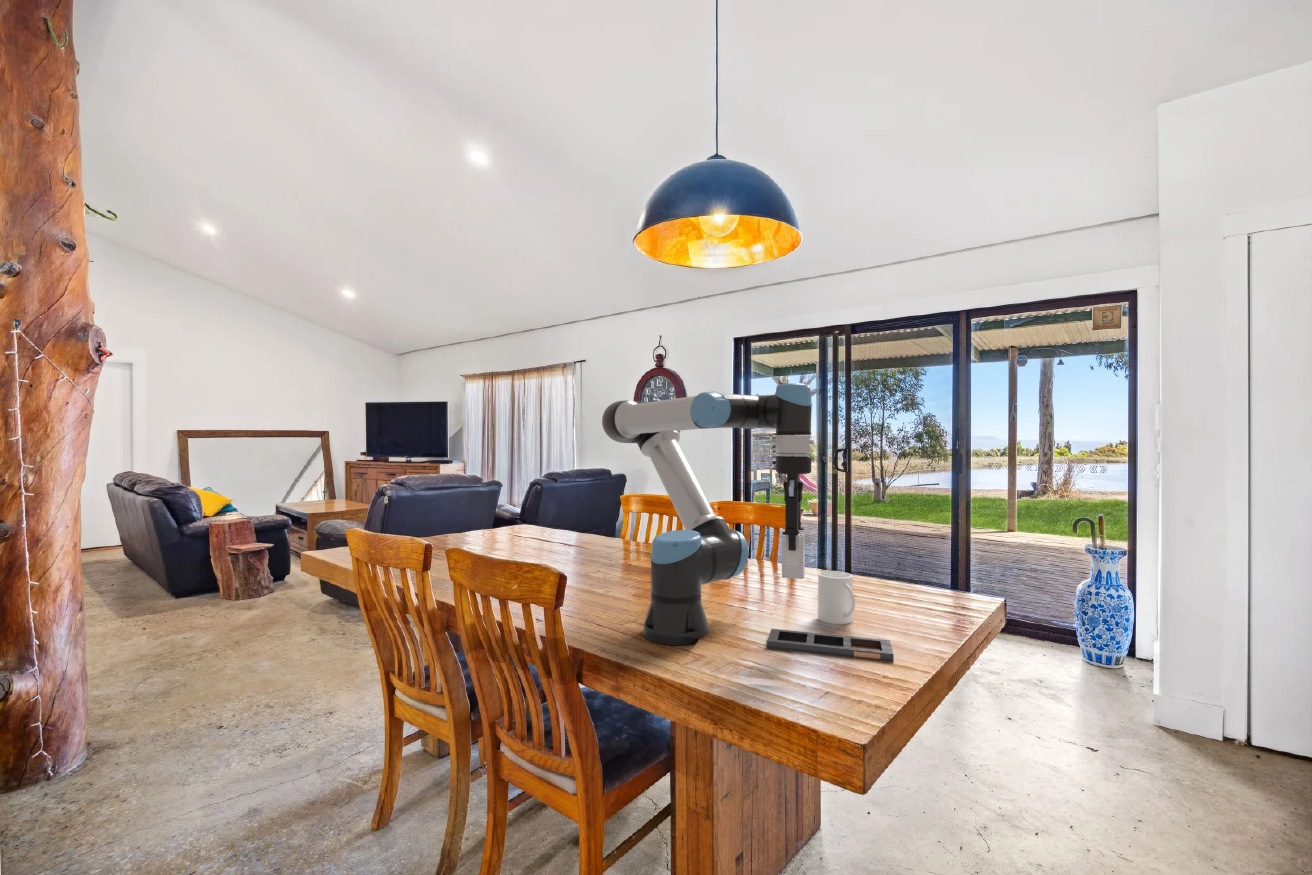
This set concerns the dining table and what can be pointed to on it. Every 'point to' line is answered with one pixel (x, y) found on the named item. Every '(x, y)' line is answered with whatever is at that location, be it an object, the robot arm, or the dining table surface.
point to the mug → (835, 597)
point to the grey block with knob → (799, 570)
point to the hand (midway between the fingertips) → (793, 562)
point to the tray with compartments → (831, 644)
